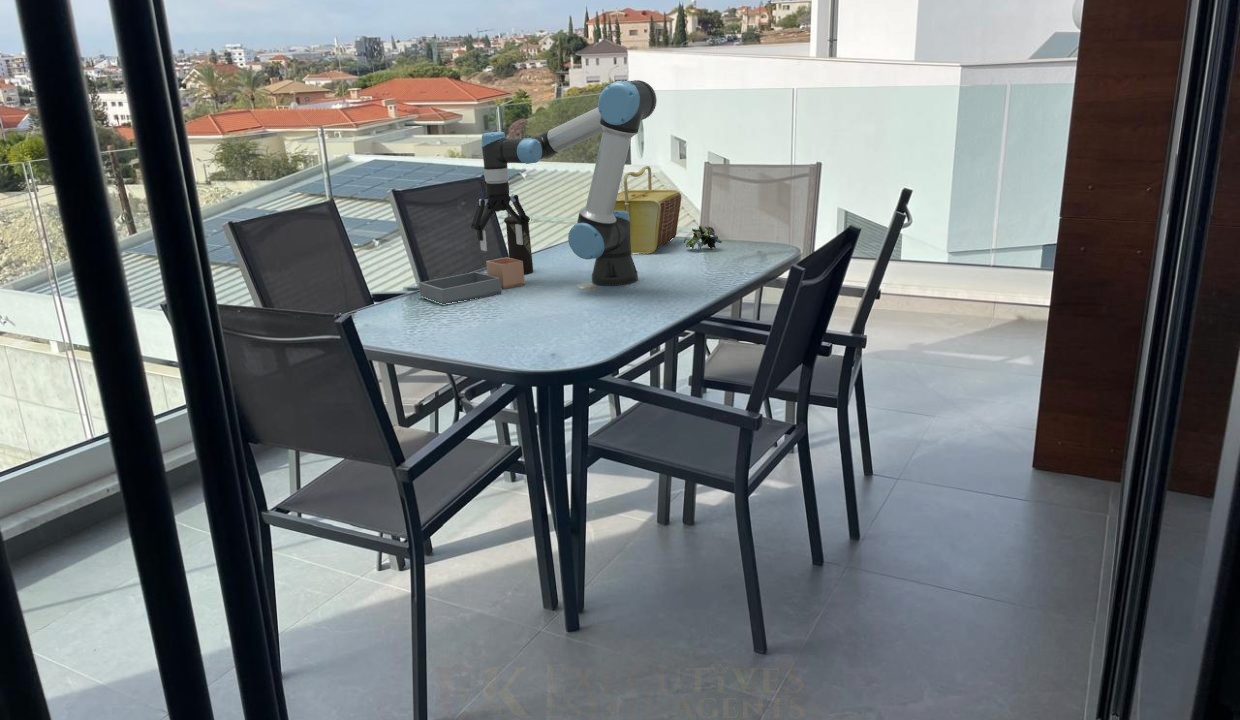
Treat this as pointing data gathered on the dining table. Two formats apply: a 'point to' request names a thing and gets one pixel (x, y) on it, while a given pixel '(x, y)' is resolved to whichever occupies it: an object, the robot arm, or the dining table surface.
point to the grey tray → (460, 287)
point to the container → (518, 250)
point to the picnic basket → (649, 214)
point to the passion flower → (703, 237)
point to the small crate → (507, 271)
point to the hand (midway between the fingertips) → (502, 247)
